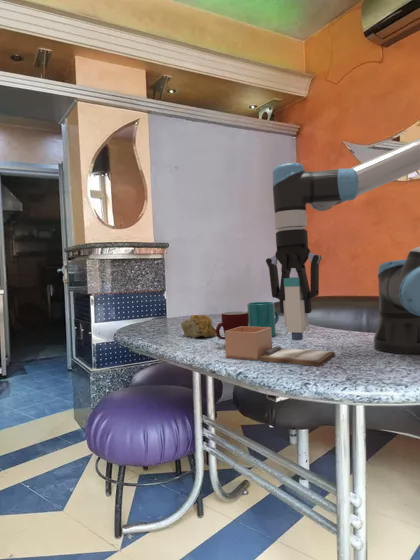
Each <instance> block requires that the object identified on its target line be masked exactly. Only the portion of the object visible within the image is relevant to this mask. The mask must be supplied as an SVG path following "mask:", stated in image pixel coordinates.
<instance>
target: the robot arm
mask: <svg viewBox="0 0 420 560" xmlns="http://www.w3.org/2000/svg"><path fill="white" fill-rule="evenodd" d="M419 170H420V137H419V138H416V139H415V140H413V141H410V142H407V143H406V144H405V143H404V144H403V145H401V146H398V147H395V148H394V149H392V150H389V151H387V152H385V153H383V154H380V155H378V156H376V157H374V158H373V157H372V158H371V159H368V160H366V161H364V162H362V163H360V164H357V165H355V166H353V167H350V168H341V167H340V168H337V169H328V170H317V171H306V170H305V167H304V165H303V164H302V163H299V162H288V163H283V164H279V165H277V166H275V167H274V169H273V170H272V193H273V194H272V195H273V197H272V198H273V208H274V228H275V230H277V231H276V233H275V245H276V251H275V255H273V256H272V257H268V258H267V257H266V259H265V263H266V266H267V267H268V273H269V281H270V287H271V290H270V291H271V297H272V298H273V299H274V298H275V299H278V301H279V308H280V313H281V314H283V317H284V320H283V321H284V328H287V320H286V303H285V287H284V278H291V276H290V275H291V272H292V269H295V272H296V273H297V277H299V278H300V286H301V290H302V295H303V298H302V299H303V300H300V302H301V320H302V328H305V327H306V328H308V327H309V324H310V323H309V314H311V313H312V300H313V298H316V297H318V296H319V293H320V288H319V287H320V286H319V285H320V282H319V279H320V270H319V269H320V266H319V265H320V263H321V260H322V256H321V254H314V253H312V252H311V250H310V249H309V238H308V237H309V236H308V230H307V229H306V228H307V227H308V221H307V219H308V218H307V205H310V207H311V208H312V209H314V210H315V211H318V212H319V211H320V212H324V211H328V210H330V209H332V208H334V207H335V206H337V205H338V206H339V204H342V203H345V202H348V201H354V200H356V198H357V197H358V196H360V195H363V194H365V193H367V192H370V191H373V190H375V189H377V188H379V187H380V188H381V187H382V186H384V185H387V184H389V183H391V182H393V181H394V182H395V181H396V180H399V179H400V178H403V177H405V176H408V175H410V174H413V173H415V172H418V171H419ZM308 259H309V262H310V285H309V280H308V275H307V272H306V265H305V264H306V262H307V261H308ZM278 263H280V265H281V269H280V271H281V278H280V280H279V271H278ZM377 271H378V272H377V273H378V274H377V279H378V280H377V281H378V302H379V321H378V325H377V328H376V331H375V334H374V338H373V348H374V349H375V350H377V351H378V350H379V351H382V352H387V353H394V354H410V355H412V354H415V355H416V354H417V355H418V354H420V245H419V246H417V247H415V248H412V249H410V250H409V252H408V255H407V256H406V259H398V260H392V261H391V260H389V261H386V262H383V263H380V264H379V266H378V270H377Z"/></svg>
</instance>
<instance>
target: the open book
mask: <svg viewBox="0 0 420 560" xmlns="http://www.w3.org/2000/svg"><path fill="white" fill-rule="evenodd" d="M333 357H335V351H329V350H328V351H326V350H314V349H312V350H310V349H298V348H286V347H285V348H284V347H283V348H282V347H281V346H280V345H279V346H278V345H277V346H274V347H272V349H269V350H267V351H266V355H264V356H261V357H260V360H259V361H260V362H264V361H268V362H267V363H275V362H278V363H279V364H286V363H291V364H290V365H298V364H301V365H300V366H309V365H313V366H312V367H321V366H323V363H324V364H325V363H326V362H328V361H329V360H331V358H333ZM320 365H321V366H320Z"/></svg>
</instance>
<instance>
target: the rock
mask: <svg viewBox="0 0 420 560" xmlns="http://www.w3.org/2000/svg"><path fill="white" fill-rule="evenodd" d="M189 317H190V318H188V319H186V320H185V319H184V321H183V322H182V321H181V323H180V326H181V329H182V331H183V333H184V336H185V335H186V336H185V337H187V336H188V337H190V338H192V337H194V338H193V339H196V338H198V337H203V338H208V337H209V338H210V337H211V338H212V337H213V336H214V337H215V336H217V335H216V328H215V327H214V326H213V324H212V318H211V317H209V316H207V315H205V314H192V315H190V316H189ZM214 337H213V338H214Z"/></svg>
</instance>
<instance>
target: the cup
mask: <svg viewBox="0 0 420 560" xmlns="http://www.w3.org/2000/svg"><path fill="white" fill-rule="evenodd" d="M246 305H247V312H248V316H249V323H248V326H250V327H271V330H272V338H273V337H275V336H276V333H277V332H276V325H277V324H278V322H279V317H280V316H279V312H278V311H277V309H275V302H274V301H256V302H253V301H252V302H248V303H247V304H246Z"/></svg>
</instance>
